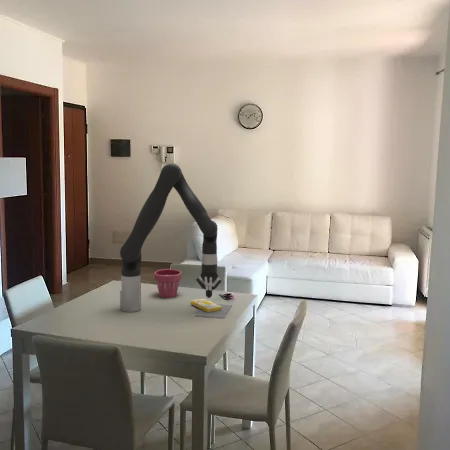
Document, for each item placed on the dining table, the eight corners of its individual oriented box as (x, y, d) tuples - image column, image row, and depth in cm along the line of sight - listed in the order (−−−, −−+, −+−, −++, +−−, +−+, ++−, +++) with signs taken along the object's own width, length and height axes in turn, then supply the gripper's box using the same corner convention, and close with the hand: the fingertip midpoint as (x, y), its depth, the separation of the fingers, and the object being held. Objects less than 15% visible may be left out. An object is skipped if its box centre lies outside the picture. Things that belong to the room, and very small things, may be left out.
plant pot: (175, 300, 261) (175, 276, 259) (150, 297, 265) (150, 274, 263) (185, 293, 274) (185, 270, 273) (161, 290, 278) (161, 268, 276)
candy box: (207, 313, 240) (221, 310, 245) (207, 308, 240) (221, 305, 244) (190, 304, 253) (204, 301, 258) (190, 300, 253) (204, 297, 258)
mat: (194, 316, 236) (194, 315, 236) (204, 303, 256) (204, 303, 256) (224, 318, 234) (224, 317, 233) (231, 305, 253) (231, 305, 253)
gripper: (194, 263, 239) (193, 298, 242) (221, 264, 237) (220, 300, 239) (197, 260, 246) (197, 294, 249) (224, 261, 244) (223, 296, 246)
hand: (209, 297), depth 244 cm, fingers closed
